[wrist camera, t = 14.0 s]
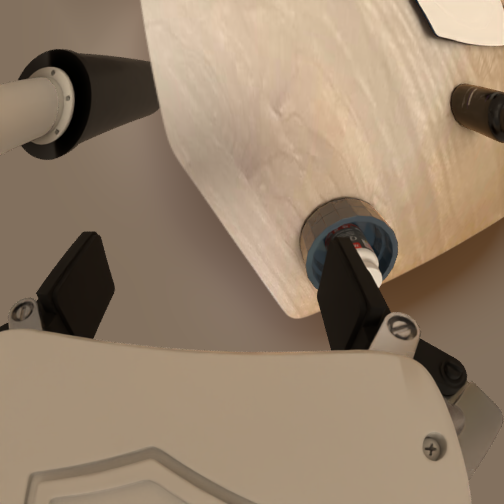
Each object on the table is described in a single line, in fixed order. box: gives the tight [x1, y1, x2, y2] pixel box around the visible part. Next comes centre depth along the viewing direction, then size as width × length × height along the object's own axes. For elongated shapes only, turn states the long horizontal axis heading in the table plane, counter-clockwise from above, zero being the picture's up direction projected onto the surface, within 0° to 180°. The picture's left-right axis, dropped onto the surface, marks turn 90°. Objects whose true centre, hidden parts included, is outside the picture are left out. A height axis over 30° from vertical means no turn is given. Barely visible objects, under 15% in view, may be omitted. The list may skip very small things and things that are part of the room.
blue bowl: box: [300, 198, 398, 289], centre depth 37 cm, size 13×13×6 cm
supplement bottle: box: [451, 84, 504, 143], centre depth 22 cm, size 7×7×12 cm
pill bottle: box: [325, 223, 382, 288], centre depth 35 cm, size 6×6×10 cm
